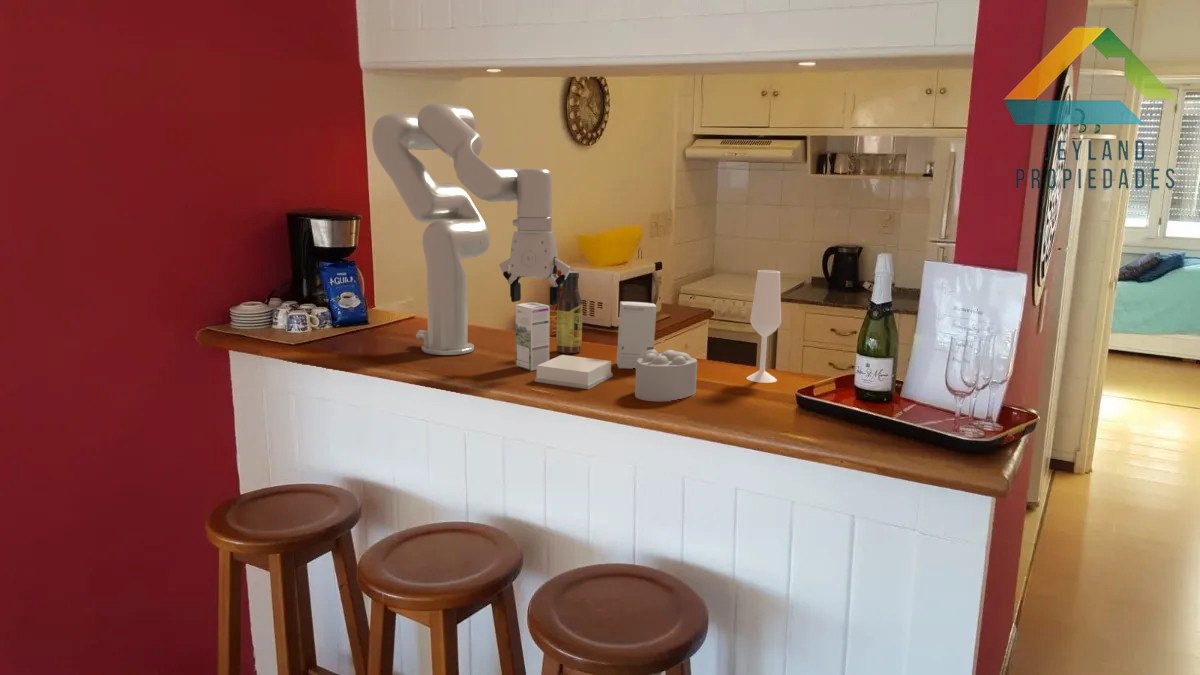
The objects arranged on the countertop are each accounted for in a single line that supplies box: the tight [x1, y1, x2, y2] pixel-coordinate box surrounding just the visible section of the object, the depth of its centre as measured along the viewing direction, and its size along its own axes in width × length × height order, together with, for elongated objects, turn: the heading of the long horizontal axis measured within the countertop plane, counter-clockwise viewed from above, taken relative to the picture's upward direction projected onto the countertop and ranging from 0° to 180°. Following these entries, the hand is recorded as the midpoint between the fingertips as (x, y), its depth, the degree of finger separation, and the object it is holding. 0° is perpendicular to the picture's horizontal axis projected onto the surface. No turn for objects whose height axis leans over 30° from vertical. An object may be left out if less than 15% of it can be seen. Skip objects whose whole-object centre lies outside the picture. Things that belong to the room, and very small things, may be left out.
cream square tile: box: [534, 354, 614, 390], centre depth 187 cm, size 13×13×4 cm
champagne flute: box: [746, 269, 782, 384], centre depth 189 cm, size 7×7×24 cm
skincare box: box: [616, 301, 657, 370], centre depth 199 cm, size 8×6×15 cm
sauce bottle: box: [555, 270, 583, 355], centre depth 212 cm, size 7×6×20 cm
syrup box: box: [515, 301, 551, 372], centre depth 195 cm, size 6×6×14 cm
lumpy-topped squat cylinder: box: [634, 348, 698, 402], centre depth 176 cm, size 10×13×9 cm
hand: (534, 302), depth 193 cm, fingers open, 9 cm apart
